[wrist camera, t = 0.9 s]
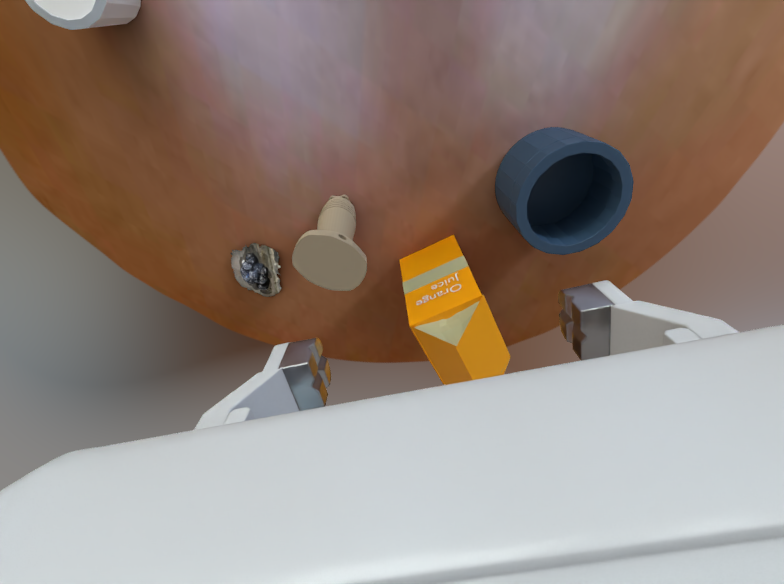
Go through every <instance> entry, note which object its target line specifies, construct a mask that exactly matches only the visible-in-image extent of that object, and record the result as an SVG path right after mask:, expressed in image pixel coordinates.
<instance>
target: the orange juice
mask: <svg viewBox="0 0 784 584" xmlns="http://www.w3.org/2000/svg"><path fill="white" fill-rule="evenodd" d="M400 267H401V273H402V280H403V289H404V295H405V300H406V306H407V313H408V319H409V327H410V328H411V330H412V332H413V333H414V335H415V337H416V338H417V340H418V342H419V344H420V345H421V347H422V349H423V350H424V352H425V354H426V356H427V357H428V359H429V361H430V362H431V364H432V366H433V368H434V369H435V371H436V373H437V374H438V376H439V378H440V380H441V381H442V383H443V384H446V385H448V384H454V383H460V382H465V381H471V380H476V379H482V378H487V377H493V376H499V375H504V372H505V370H506V367H507V364H508V362H509V359H510V354H509V352H508V350H507V347H506V345H505V343H504V341H503V338H502V336H501V334H500V332H499V329H498V327H497V325H496V322H495V320H494V318H493V316H492V313H491V311H490V308H489V306H488V304H487V301H486V300H485V297H484V295H483V296H482V295H481V292H480V290H479V288H478V286H477V284H476V282H475V279H474V277H473V275H472V273H471V270H470V268H469V266H468V264H467V262H466V259H465V257H464V255H463V254H462V252H461V250H460V247H459V245H458V243H457V241H456V239H455V237H454V235H452V236H450V237H447V238H445V239H443V240H441V241H439V242H437V243H434V244H432V245H430V246H428V247H426V248H424V249H422V250H419V251H417V252H415V253H413V254H411V255H409V256H406V257H404V258H402V259H400ZM482 293H483V292H482Z"/></svg>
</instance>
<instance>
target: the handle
mask: <svg viewBox="0 0 784 584" xmlns="http://www.w3.org/2000/svg"><path fill="white" fill-rule="evenodd" d="M355 229H356V214H355V208H354V205H352V204H351V203H350V201H349V198H348V196H346V195H342V196H334V195H333V196H331V197H330V198H329V201H328V202H327V203H326V204H325V205H324V207H323V209H322V210H321V213H320V216H319V219H318V226H317V230H310V231H308V232H306V233H305V234H303V235H302V236H301V238H300V239H299V240H298V242H297V244H296V246H295V249H294V252H293V256H292V262H293V266H294V267H295V268H296V269H297V271H298V272H299V273H300V274H301V275H302V276H303V277H304V278H306V279H307V280H308V281H310V282H312V283H314V284H316V285H318V286H321V287H323V288H326V289H329V290H339V291H350V290H352V289H354V288H356V287H357V286H358V285H359V284H360V283H361V282H362V280H363V279H364V277H365V274H366V271H367V259H366V256H365V254H364V253H363V252H362V250H361V249H360V248H359V247H358V246H357V245H356V244H355V243H354V242H353V237H354V233H355Z"/></svg>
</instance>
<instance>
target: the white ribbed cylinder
mask: <svg viewBox="0 0 784 584" xmlns="http://www.w3.org/2000/svg"><path fill="white" fill-rule="evenodd" d="M25 1H26V2H27V3H28V5H29V6H30V7H31V8H32V10H33V11H35V12H36V13H37V14H39V15H40V16H42V17H43V18H44V19H46V20H47V21H49V22H50V23H51V24H54V25H57V26H60V27H63V28H66V29H70V30H75V29H84V28H93V27H102V26H111V25H121V24H127V23H129V22H130V21H131V20H133V19H134V18H135V17H136V16H137V13H138V11H139V9H140V6H141V0H25Z"/></svg>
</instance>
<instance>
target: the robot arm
mask: <svg viewBox="0 0 784 584" xmlns="http://www.w3.org/2000/svg"><path fill="white" fill-rule="evenodd" d="M558 303H559V304H560V306H561V307H562V308H563V309H562V311H561V312H560V314H559V323H560V327H561V331H562V333H563V336H564V338H565V339H566V340H567V342H570V343H572V344H573V350H574V351H575V353H576V354H577V356H578V357H579V358H580V360H581V361H577V362H571V363H565V364H560V365H554V366H549V367H543V368H538V369H533V370H526V371H521V372H516V373H510V374H504V375H499V376H493V377H487V378H482V379H476V380H471V381H465V382H460V383H454V384H448V385H443V386H437V387H432V388H426V389H421V390H415V391H409V392H404V393H398V394H392V395H387V396H381V397H376V398H370V399H364V400H359V401H353V402H348V403H342V404H337V405H331V406H325V405H326V400H327V396H328V393H327V390H326V388H327V387H328V386H329V385H330V381H331V373H330V367H329V363H328V361H327V358H325V357H324V356H322V351H323V346H322V344H321V341H320V340H319V339H318V338H313V339H307V340H301V341H296V342H291V343H284V344H280V345H276V346H274V348H273V350H272V353H271V355H270V357H269V359H268V361H267V363H266V366H265V368H264V370H263V372H260V373H257V374H256V375H255V376H253V377H252V378H251V379H250V380H248V381H247V382H245V383H244V384H243V385H241V386H240V387H239V388H237V389H236V390H235V391H233V392H232V393H231V394H229V395H228V396H227V397H225V398H224V399H223V400H221V401H220V402H219V403H217V404H216V405H215V406H213V407H212V408H211V409H209V410H208V411H207V412H205V413H204V414H203V416H202V417H201V419H200V420H199V422H198V424H197V426H196V428H195V429H194V430H192V431H186V432H181V433H175V434H170V435H164V436H158V437H153V438H148V439H142V440H136V441H130V442H125V443H119V444H114V445H109V446H103V447H96V448H90V449H84V450H78V451H73V452H69V453H66V454H64V455H62V456H60V457H57V458H55V459H54V460H52V461H50V462H48V463H46V464H45V465H43V466H41V467H39V468H37V469H36V470H34V471H32V472H31V473H29V474H27V475H26V476H24V477H22V478H21V479H19V480H17V481H16V482H14V483H13V484H11V485H9V486H7V487H6V488H4V489H3V490H2V491H0V584H784V324H782V325H777V326H771V327H766V328H760V329H755V330H749V331H743V332H738V331H737V330H735V329H734V328H732V327H731V326H730V325H728V324H726V323H725V322H724V321H722V320H720V319H716V318H712V317H707V316H703V315H699V314H694V313H690V312H686V311H682V310H677V309H673V308H669V307H664V306H660V305H656V304H651V303H647V302H643V301H632V300H631V299H630V298H629V297H628V296H626V295H625V294H624V293H623V292H621V291H620V290H619V289H618V288H617V287H616V286H614V285H613V284H612V283H611V282H610V281H607V280H604V281H600V282H596V283H591V284H587V285H582V286H577V287H573V288H568V289H564V290H560V291H559V293H558Z"/></svg>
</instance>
